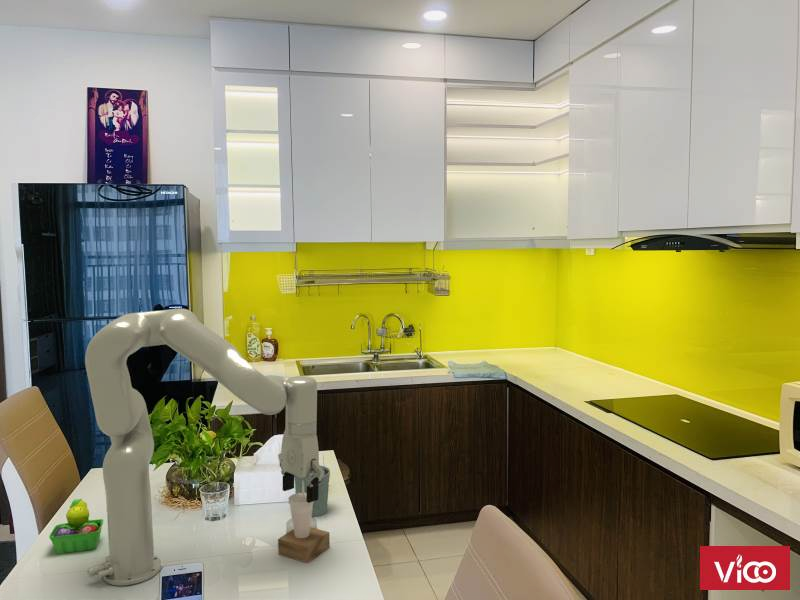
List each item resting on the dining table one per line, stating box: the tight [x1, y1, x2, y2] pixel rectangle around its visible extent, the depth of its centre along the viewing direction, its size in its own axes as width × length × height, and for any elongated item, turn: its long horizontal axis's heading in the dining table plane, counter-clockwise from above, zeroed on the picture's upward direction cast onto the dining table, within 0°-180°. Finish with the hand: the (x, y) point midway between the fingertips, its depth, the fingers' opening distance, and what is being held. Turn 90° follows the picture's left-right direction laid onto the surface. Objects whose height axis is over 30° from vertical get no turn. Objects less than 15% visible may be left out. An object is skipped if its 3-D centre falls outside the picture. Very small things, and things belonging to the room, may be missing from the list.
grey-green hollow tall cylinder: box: [294, 465, 331, 518], centre depth 181 cm, size 10×10×12 cm
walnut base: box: [277, 527, 331, 564], centre depth 158 cm, size 9×9×4 cm
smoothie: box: [287, 480, 314, 538], centre depth 158 cm, size 6×6×14 cm
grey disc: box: [285, 517, 318, 534], centre depth 169 cm, size 8×8×2 cm
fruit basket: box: [48, 498, 104, 555], centre depth 162 cm, size 11×9×11 cm
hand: (300, 495), depth 157 cm, fingers open, 9 cm apart
